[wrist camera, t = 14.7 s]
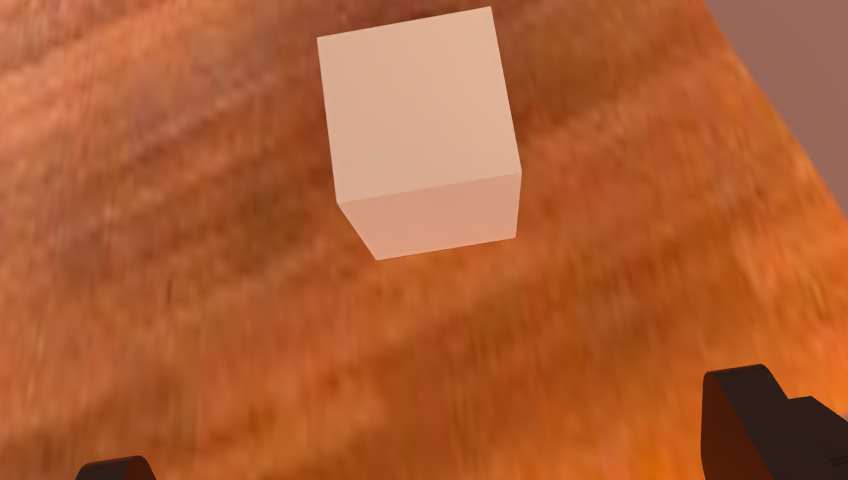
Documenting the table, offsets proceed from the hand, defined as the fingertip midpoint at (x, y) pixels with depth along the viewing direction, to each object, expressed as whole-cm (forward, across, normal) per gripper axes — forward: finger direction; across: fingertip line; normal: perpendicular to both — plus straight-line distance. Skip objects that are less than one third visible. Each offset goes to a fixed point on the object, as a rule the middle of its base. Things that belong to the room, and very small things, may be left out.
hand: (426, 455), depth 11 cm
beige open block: (+24, 0, +8) cm, 25 cm away
